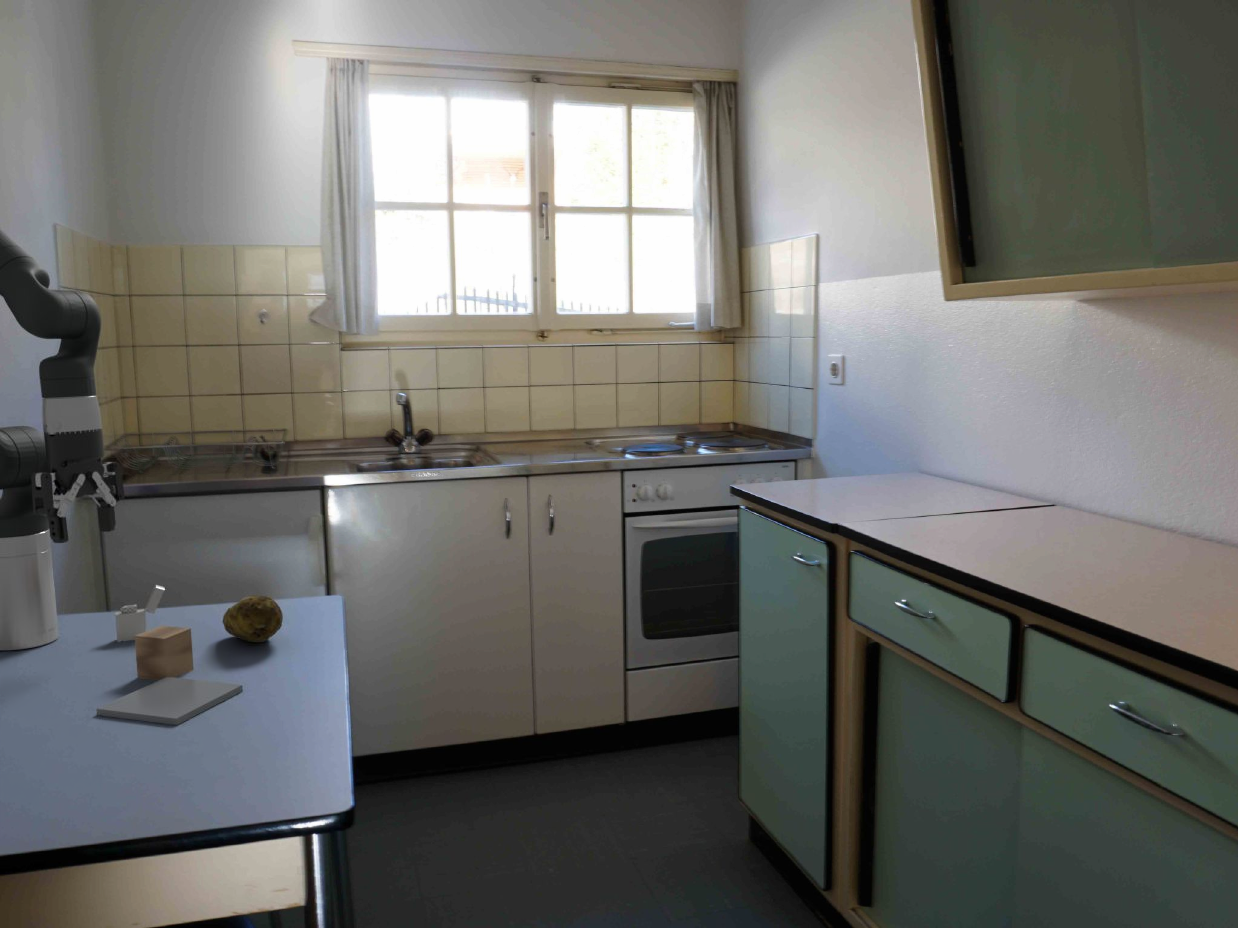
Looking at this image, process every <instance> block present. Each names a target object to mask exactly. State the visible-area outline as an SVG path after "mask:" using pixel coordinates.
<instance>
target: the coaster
mask: <svg viewBox="0 0 1238 928" xmlns="http://www.w3.org/2000/svg"><path fill="white" fill-rule="evenodd" d="M243 688H244V687H243V685H242V684H237V683H227V682H217V681H210V680H209V681H208V680H201V679H191V678H183V677H176V678H174V677H166V678H164V679H161V680H156V681H154V682H153V683H152V682H151V684H148V685H146V686H144V687H142V688H139V689H137V690H135V691H133V692H130V693H128V694H125V695H124V696H122V697H120V698H117V699H115V700H113V701H110V702H108V703H106V704H104V705H101V706H99V707H97V708H96V716H103V717H110V718H112V717H113V718H117V719H127V720H132V721H133V720H135V721H143V722H150V723H157V724H167V725H174V726H178V725H179V724H182V723H183V722H185V721H188V720H190V719H191V718H194V717H195V716H197V715H199V714H202V713H203V712H204V711H207V710H208V709H211V708H212V707H214V706H217V705H219V704H220V703H222V702H224V701H225V700H228V699H229V698H232V697H234V696H236V695H238V694H240V693H242V692H243V691H244V689H243Z"/></svg>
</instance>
